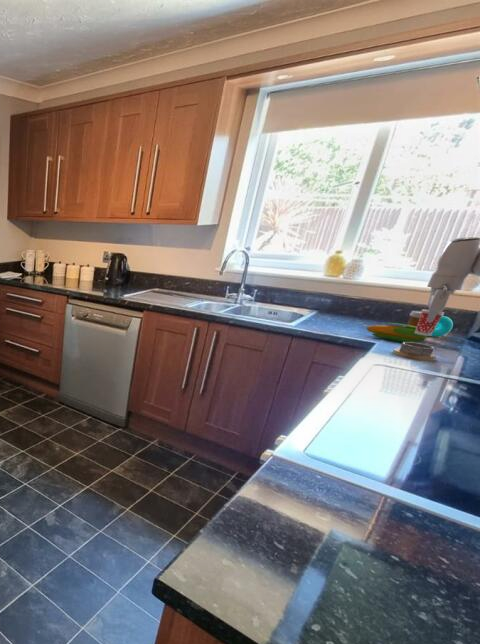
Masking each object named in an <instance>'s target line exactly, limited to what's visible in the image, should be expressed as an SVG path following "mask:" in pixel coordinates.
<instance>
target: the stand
mask: <svg viewBox="0 0 480 644" xmlns="http://www.w3.org/2000/svg"><path fill="white" fill-rule="evenodd" d="M434 349H435V347H434V346H433V345H429V344H425V343H421V342H417V343H414V342H401V345H400V347H395V348H393V350H392V354H394V355H396V356H398V357H402V358H406V359H410V360H416V361H422V362H423V361H424V362H434V361H436V358H437V355H436V354H434V353H433V352H434Z"/></svg>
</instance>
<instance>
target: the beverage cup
mask: <svg viewBox="0 0 480 644" xmlns="http://www.w3.org/2000/svg"><path fill="white" fill-rule="evenodd" d="M420 311H421V312H422V313H421V316H420V319H419V322H418V324H417V327H416V330H415V334H419V335H426V336H427V337H431V334H432V333H433V331H434V329H435V327H436V325H437V324H438V322H439V320H440V318H441V317H442V316H444V315H445V312H444V311H442V312H438V314H437V315H436V317H435V318H434V321H433V322H427V321H426V320H427V317H428V315H429V312H430V310H429V309H425V308H424V309H421V310H420Z"/></svg>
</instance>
